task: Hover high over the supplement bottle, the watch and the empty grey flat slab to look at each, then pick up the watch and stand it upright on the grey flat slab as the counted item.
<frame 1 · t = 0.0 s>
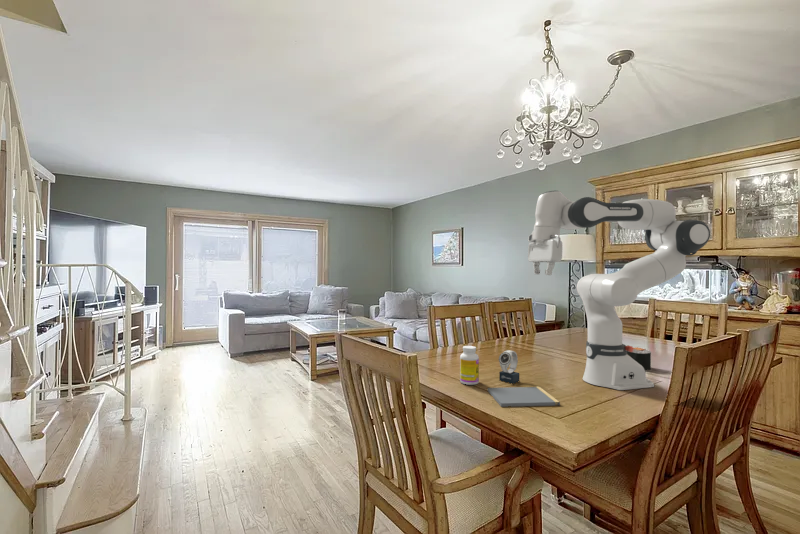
hand: (542, 274, 133), 39 cm above the table, tool pointing down, fingers open, 8 cm apart
grey flat slab: (521, 397, 119), on the table
watch: (509, 381, 136), on the table
supplement bottle: (469, 383, 134), on the table
sushi: (638, 368, 153), on the table
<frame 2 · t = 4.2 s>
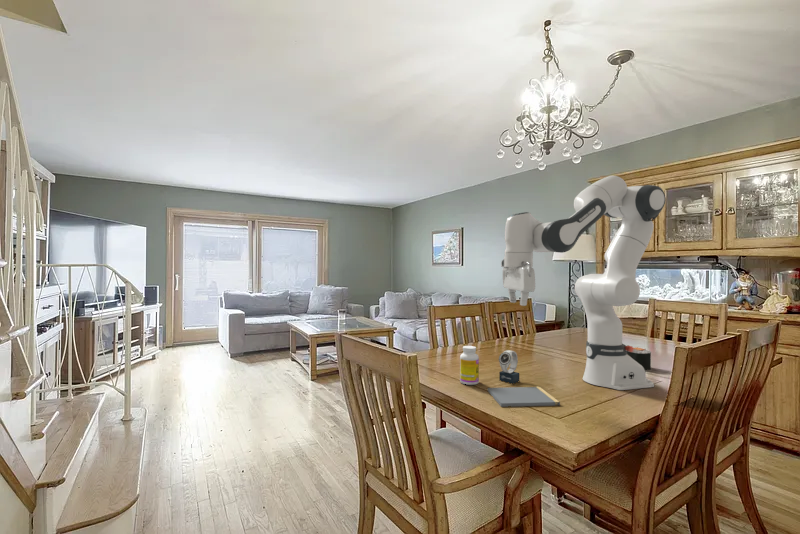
hand: (517, 303, 123), 30 cm above the table, tool pointing down, fingers open, 8 cm apart
nothing on the table moved.
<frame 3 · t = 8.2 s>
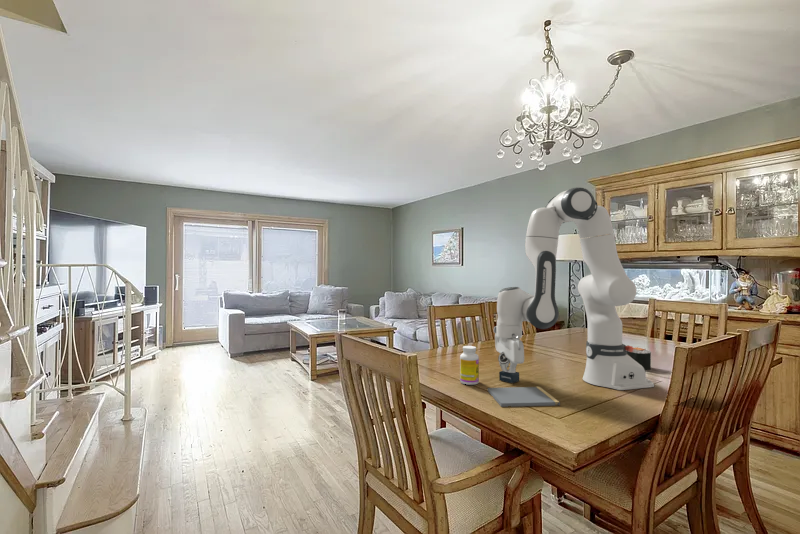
hand: (508, 369, 136), 4 cm above the table, tool pointing down, fingers open, 5 cm apart
watch: (509, 381, 136), on the table, touching gripper
everything else where it was.
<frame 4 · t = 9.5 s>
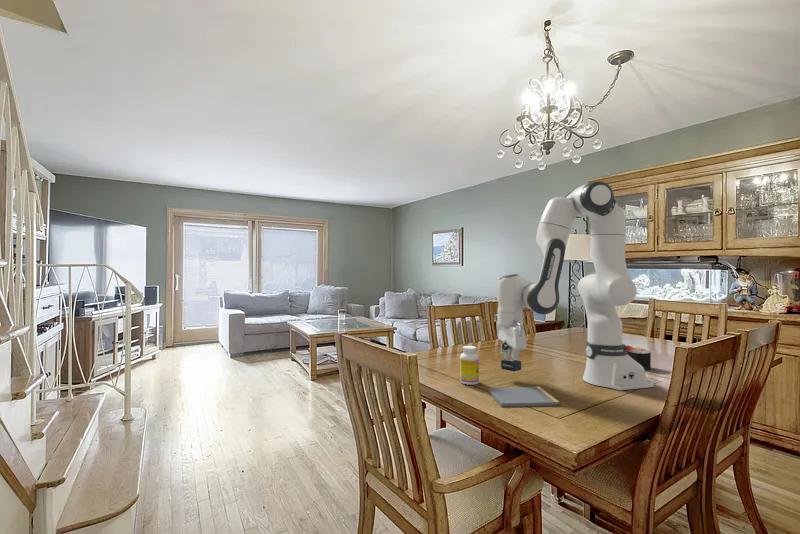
hand: (511, 356, 136), 9 cm above the table, tool pointing down, fingers closed on watch, 5 cm apart
watch: (511, 369, 136), point 4 cm above the table, touching gripper
everything else where it was.
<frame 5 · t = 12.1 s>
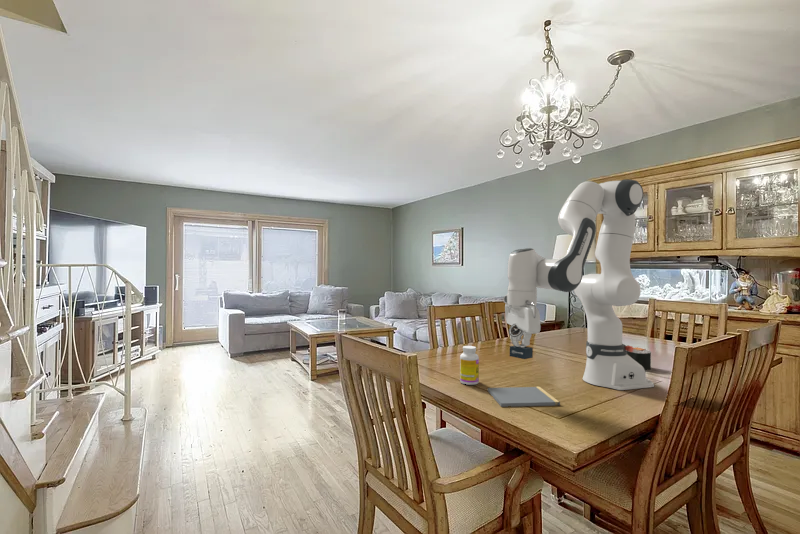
hand: (521, 342, 119), 18 cm above the table, tool pointing down, fingers closed on watch, 5 cm apart
watch: (520, 357, 119), point 13 cm above the table, touching gripper
everything else where it was.
when the fingers open (6 cm above the table, at t = 14.9 s): watch moves 2 cm, resting on grey flat slab.
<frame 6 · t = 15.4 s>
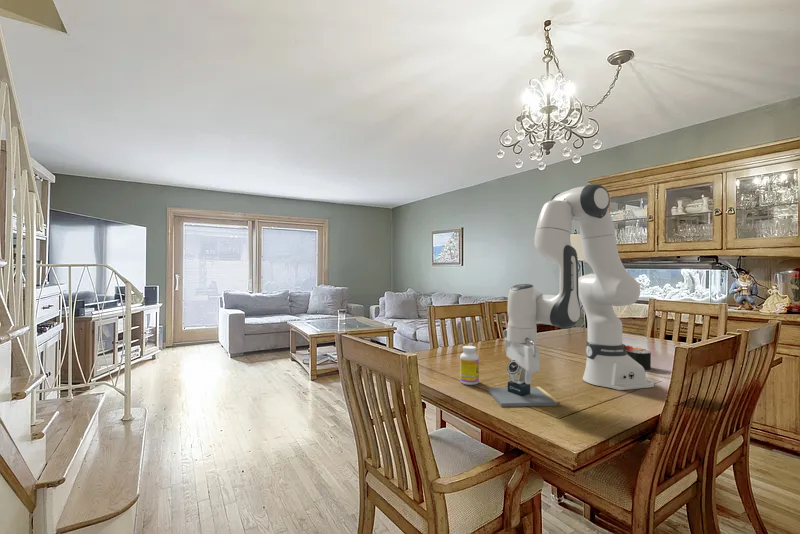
hand: (521, 378, 119), 6 cm above the table, tool pointing down, fingers open, 8 cm apart
watch: (518, 393, 121), point 1 cm above the table, touching gripper, grey flat slab
everything else where it was.
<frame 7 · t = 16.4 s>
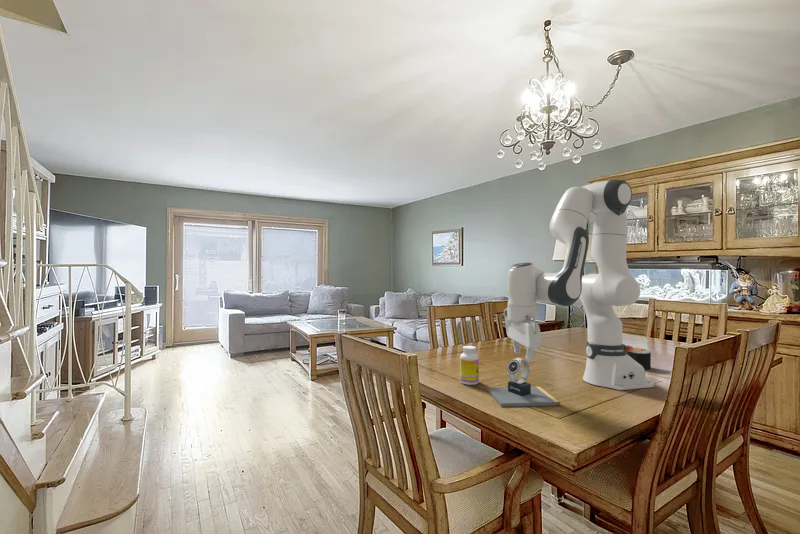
hand: (523, 357, 119), 13 cm above the table, tool pointing down, fingers open, 8 cm apart
watch: (519, 393, 121), point 1 cm above the table, touching grey flat slab
everything else where it was.
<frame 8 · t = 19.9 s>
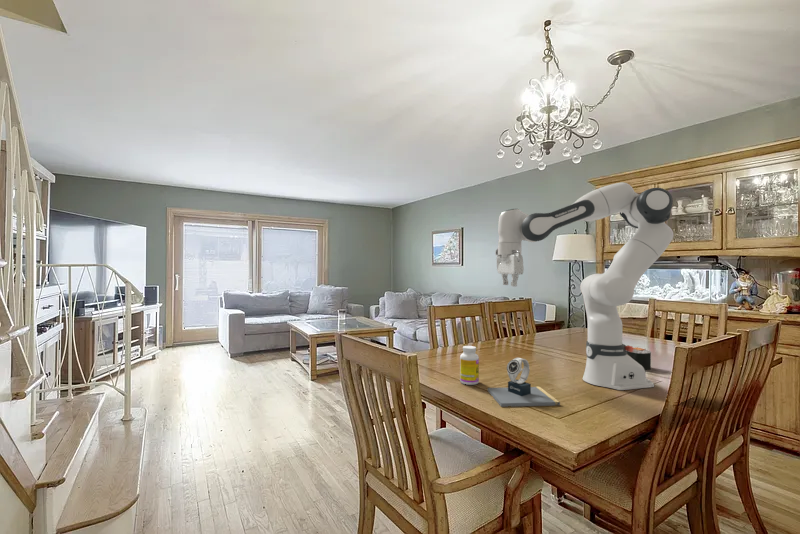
hand: (509, 285, 147), 34 cm above the table, tool pointing down, fingers open, 8 cm apart
nothing on the table moved.
at the end: watch inside the target area on the grey flat slab (2.0 cm from its centre), point 0.8 cm above the grey flat slab's base; watch tilted 0°; supplement bottle moved 0.2 cm from its start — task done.
